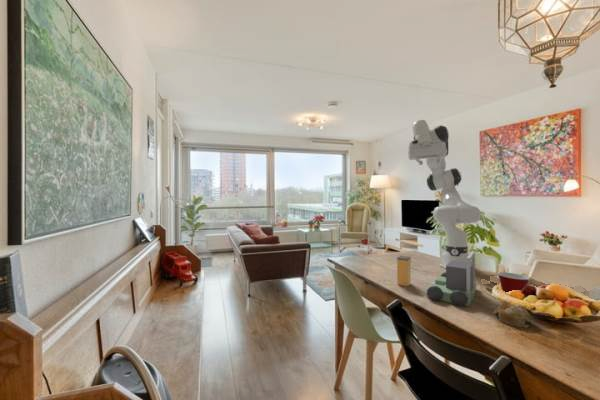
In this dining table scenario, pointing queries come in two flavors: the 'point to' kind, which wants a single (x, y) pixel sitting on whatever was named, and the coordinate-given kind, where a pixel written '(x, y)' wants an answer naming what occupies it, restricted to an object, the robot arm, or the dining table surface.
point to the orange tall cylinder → (403, 271)
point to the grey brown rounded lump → (513, 315)
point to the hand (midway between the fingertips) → (430, 163)
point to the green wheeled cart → (455, 283)
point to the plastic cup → (512, 281)
